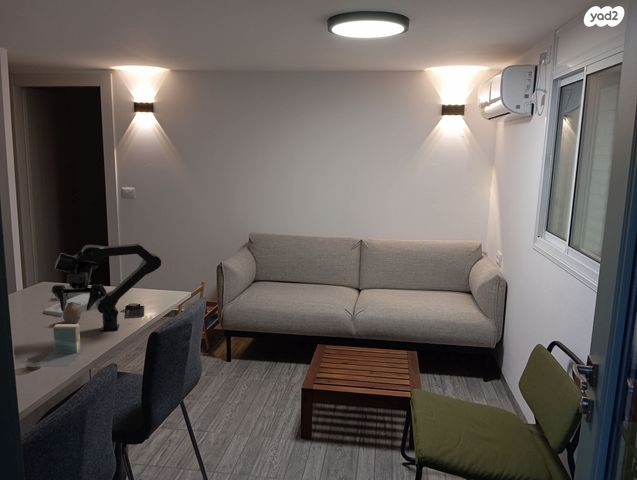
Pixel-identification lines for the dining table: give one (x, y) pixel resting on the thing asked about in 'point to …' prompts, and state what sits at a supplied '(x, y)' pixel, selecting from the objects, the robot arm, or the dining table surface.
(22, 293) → the dining table surface
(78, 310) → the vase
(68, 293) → the air freshener
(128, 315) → the phone
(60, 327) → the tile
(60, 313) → the ramp
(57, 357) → the mat
